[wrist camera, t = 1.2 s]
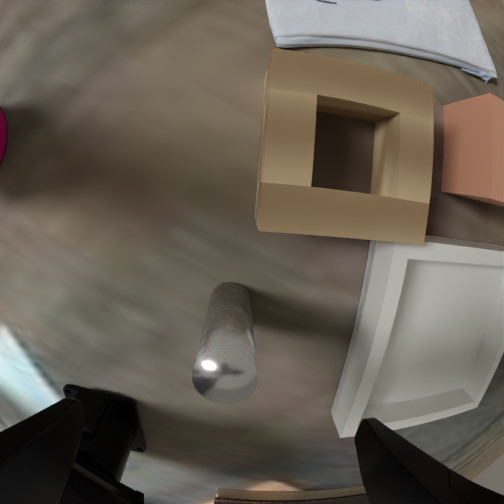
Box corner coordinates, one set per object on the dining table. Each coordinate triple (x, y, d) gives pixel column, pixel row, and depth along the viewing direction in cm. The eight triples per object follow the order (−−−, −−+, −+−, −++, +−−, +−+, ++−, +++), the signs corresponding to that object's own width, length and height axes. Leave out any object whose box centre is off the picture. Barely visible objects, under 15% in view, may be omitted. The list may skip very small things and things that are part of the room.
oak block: (384, 229, 17) (423, 245, 13) (254, 217, 17) (258, 231, 12) (393, 103, 15) (432, 86, 11) (264, 79, 15) (272, 48, 10)
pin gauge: (249, 320, 18) (254, 404, 11) (209, 318, 18) (192, 400, 10) (252, 283, 17) (260, 355, 10) (210, 280, 17) (191, 351, 10)
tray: (461, 389, 21) (477, 407, 18) (330, 411, 20) (340, 437, 17) (508, 246, 17) (533, 255, 15) (372, 228, 17) (395, 238, 14)
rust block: (493, 204, 17) (539, 214, 12) (439, 191, 16) (490, 198, 12) (495, 129, 15) (541, 126, 11) (442, 105, 15) (490, 93, 10)
